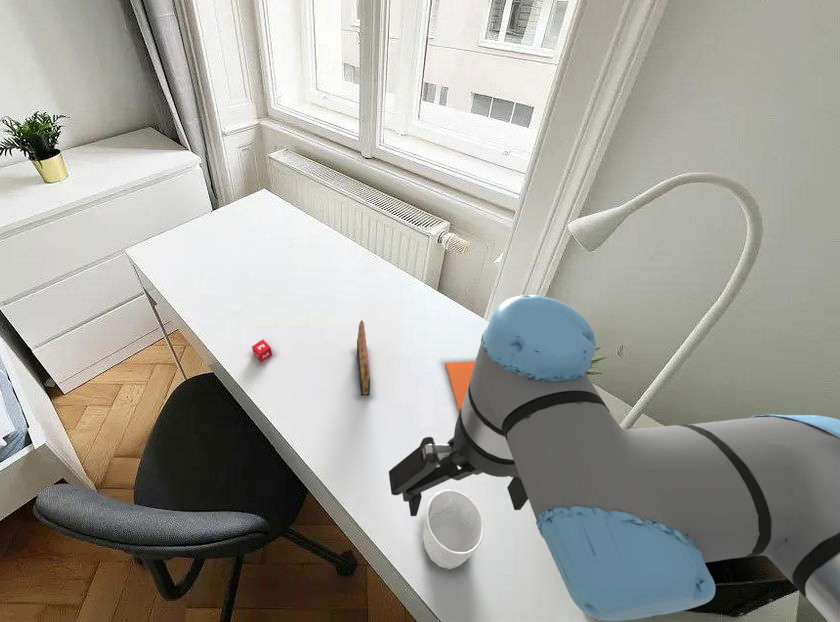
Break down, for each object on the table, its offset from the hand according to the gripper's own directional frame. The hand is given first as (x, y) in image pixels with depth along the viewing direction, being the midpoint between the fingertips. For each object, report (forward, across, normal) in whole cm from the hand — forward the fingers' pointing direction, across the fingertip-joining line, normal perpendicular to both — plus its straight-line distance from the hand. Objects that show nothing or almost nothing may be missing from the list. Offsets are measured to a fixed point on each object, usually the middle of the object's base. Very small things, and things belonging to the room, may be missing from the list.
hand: (462, 501), depth 54 cm
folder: (+16, -15, -24) cm, 32 cm away
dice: (+16, +32, -36) cm, 51 cm away
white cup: (+16, 0, +1) cm, 16 cm away
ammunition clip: (+16, +10, -30) cm, 36 cm away
